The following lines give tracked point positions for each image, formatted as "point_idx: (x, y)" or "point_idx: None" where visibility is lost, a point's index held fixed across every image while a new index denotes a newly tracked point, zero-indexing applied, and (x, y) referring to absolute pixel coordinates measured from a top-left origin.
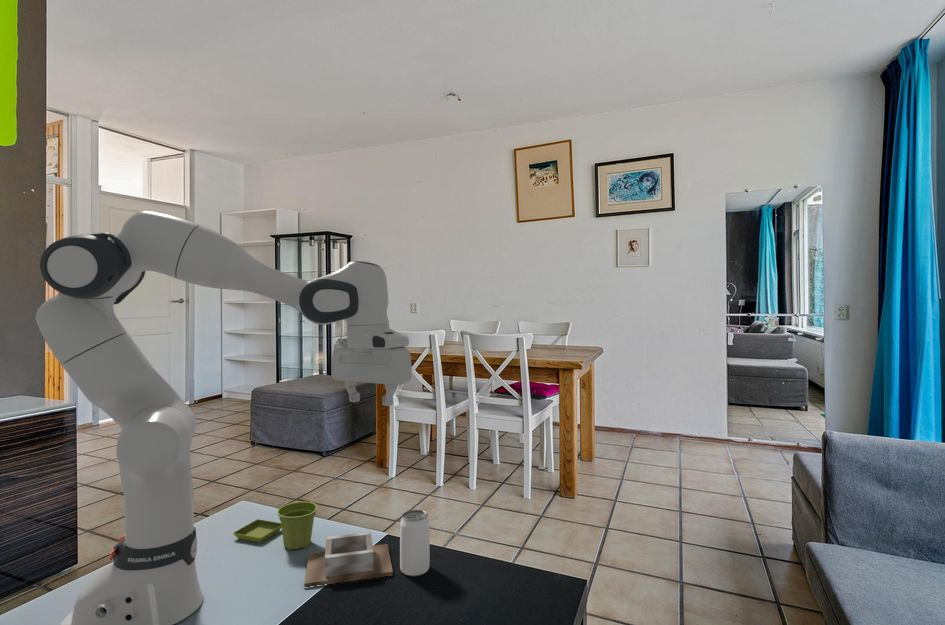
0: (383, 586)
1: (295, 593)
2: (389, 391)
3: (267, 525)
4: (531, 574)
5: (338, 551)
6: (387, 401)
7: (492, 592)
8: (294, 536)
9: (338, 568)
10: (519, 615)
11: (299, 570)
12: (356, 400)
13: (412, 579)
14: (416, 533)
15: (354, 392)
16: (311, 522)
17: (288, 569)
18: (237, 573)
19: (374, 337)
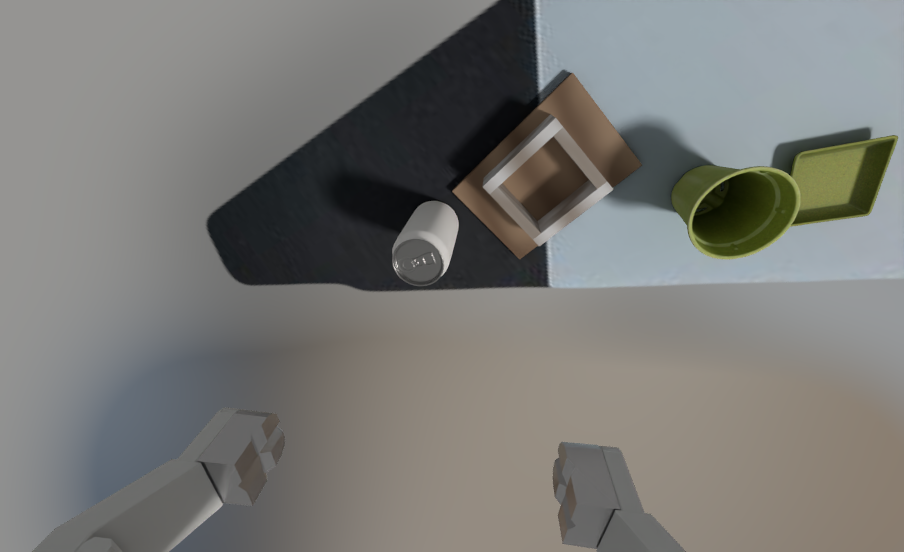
0: (445, 156)
1: (575, 48)
2: (83, 512)
3: (824, 212)
4: (294, 282)
5: (579, 190)
6: (203, 433)
7: (305, 223)
8: (702, 174)
9: (531, 135)
10: (245, 194)
11: (625, 117)
12: (561, 463)
13: (419, 196)
14: (401, 232)
15: (607, 542)
16: (685, 215)
17: (651, 107)
18: (760, 30)
19: None
